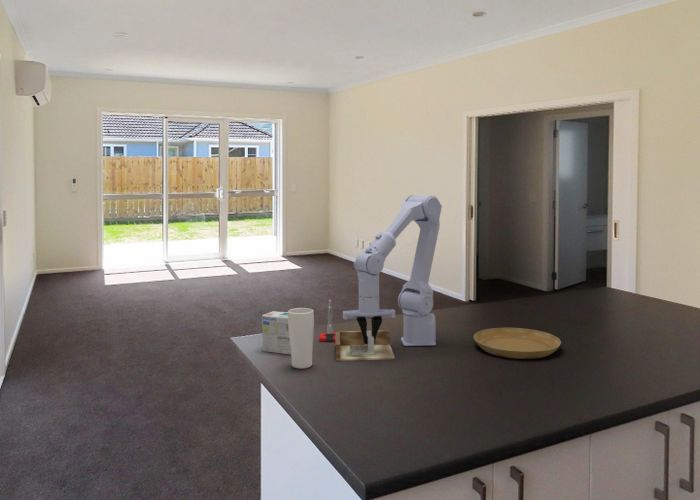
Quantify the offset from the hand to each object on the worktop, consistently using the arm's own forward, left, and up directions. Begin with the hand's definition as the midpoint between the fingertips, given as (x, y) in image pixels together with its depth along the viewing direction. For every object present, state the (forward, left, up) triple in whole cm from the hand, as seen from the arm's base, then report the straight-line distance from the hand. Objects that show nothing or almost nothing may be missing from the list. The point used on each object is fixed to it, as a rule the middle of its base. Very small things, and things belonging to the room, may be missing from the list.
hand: (369, 343), depth 162 cm
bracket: (+2, 0, -2) cm, 3 cm away
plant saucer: (-43, -2, -4) cm, 43 cm away
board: (+1, -1, -3) cm, 3 cm away
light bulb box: (+24, -5, -3) cm, 25 cm away
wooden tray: (+1, -1, -3) cm, 3 cm away
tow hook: (+10, -17, -3) cm, 20 cm away
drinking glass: (+18, +10, -3) cm, 21 cm away
